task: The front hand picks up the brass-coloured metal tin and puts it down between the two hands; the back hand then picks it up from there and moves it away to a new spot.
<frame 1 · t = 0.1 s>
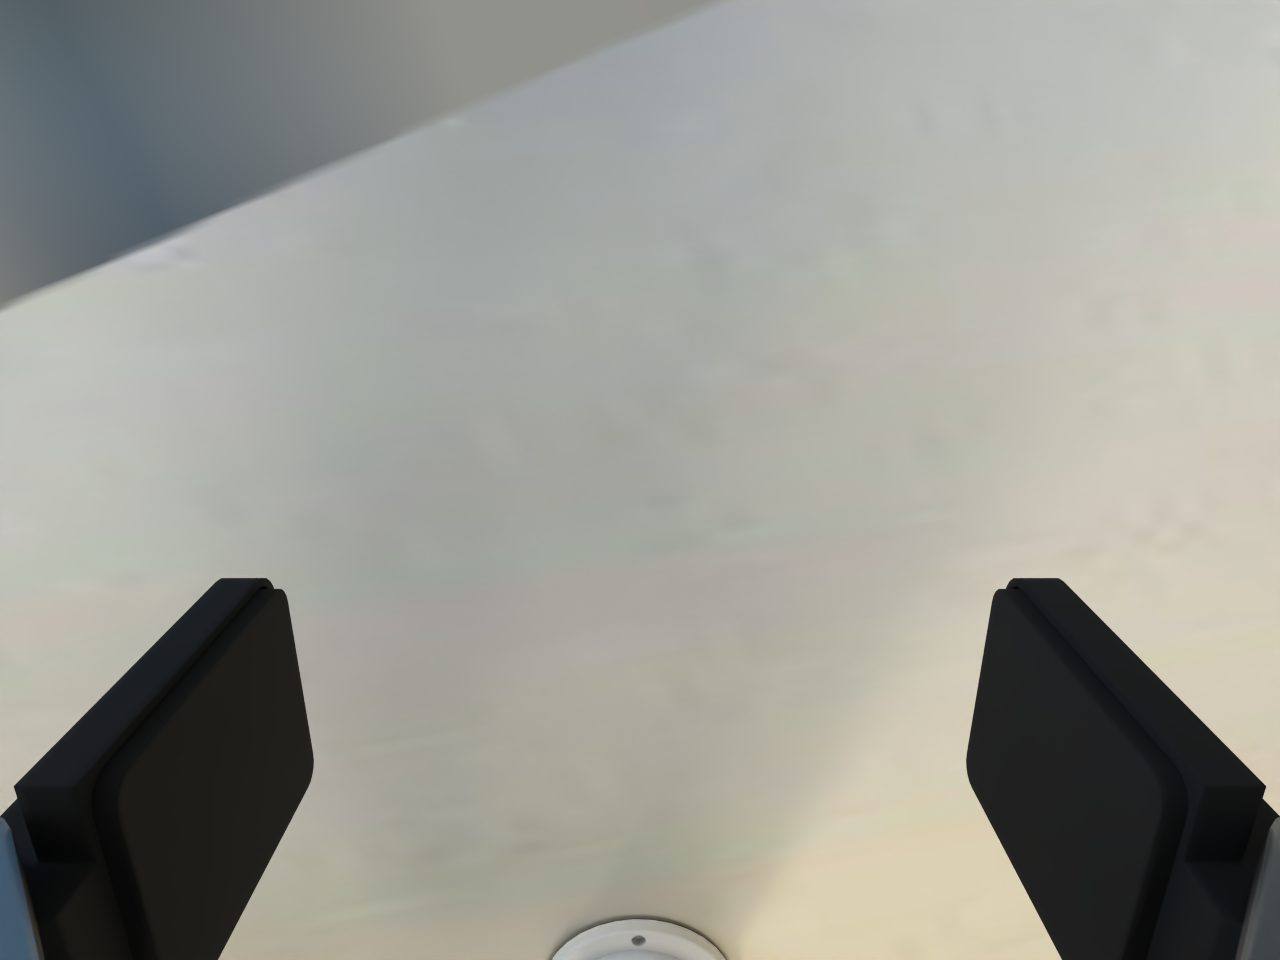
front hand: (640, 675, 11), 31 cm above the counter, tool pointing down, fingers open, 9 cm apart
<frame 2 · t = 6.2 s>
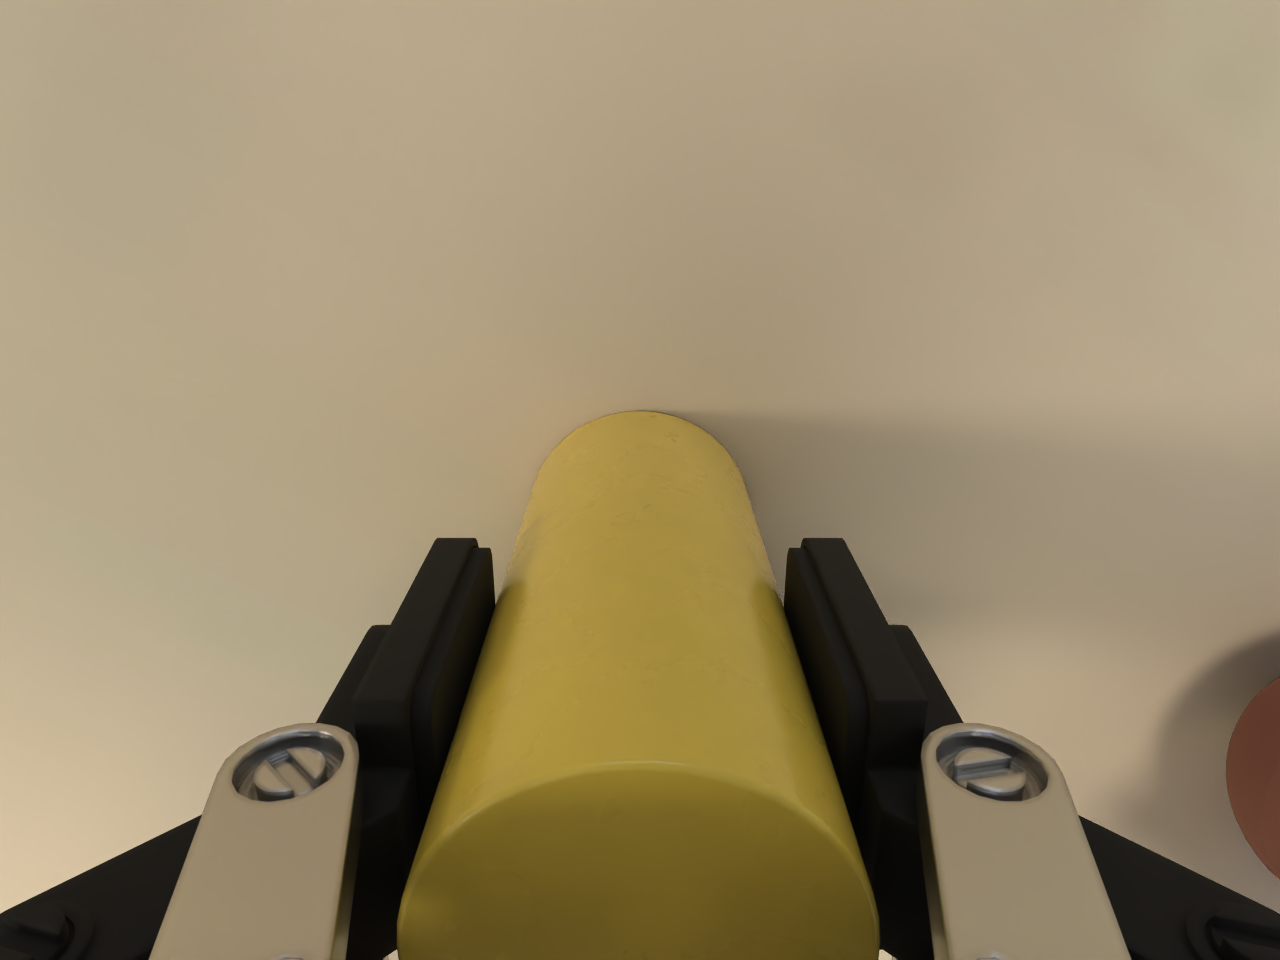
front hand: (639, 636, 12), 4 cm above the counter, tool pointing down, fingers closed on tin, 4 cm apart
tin: (639, 514, 16), on the counter, touching front hand
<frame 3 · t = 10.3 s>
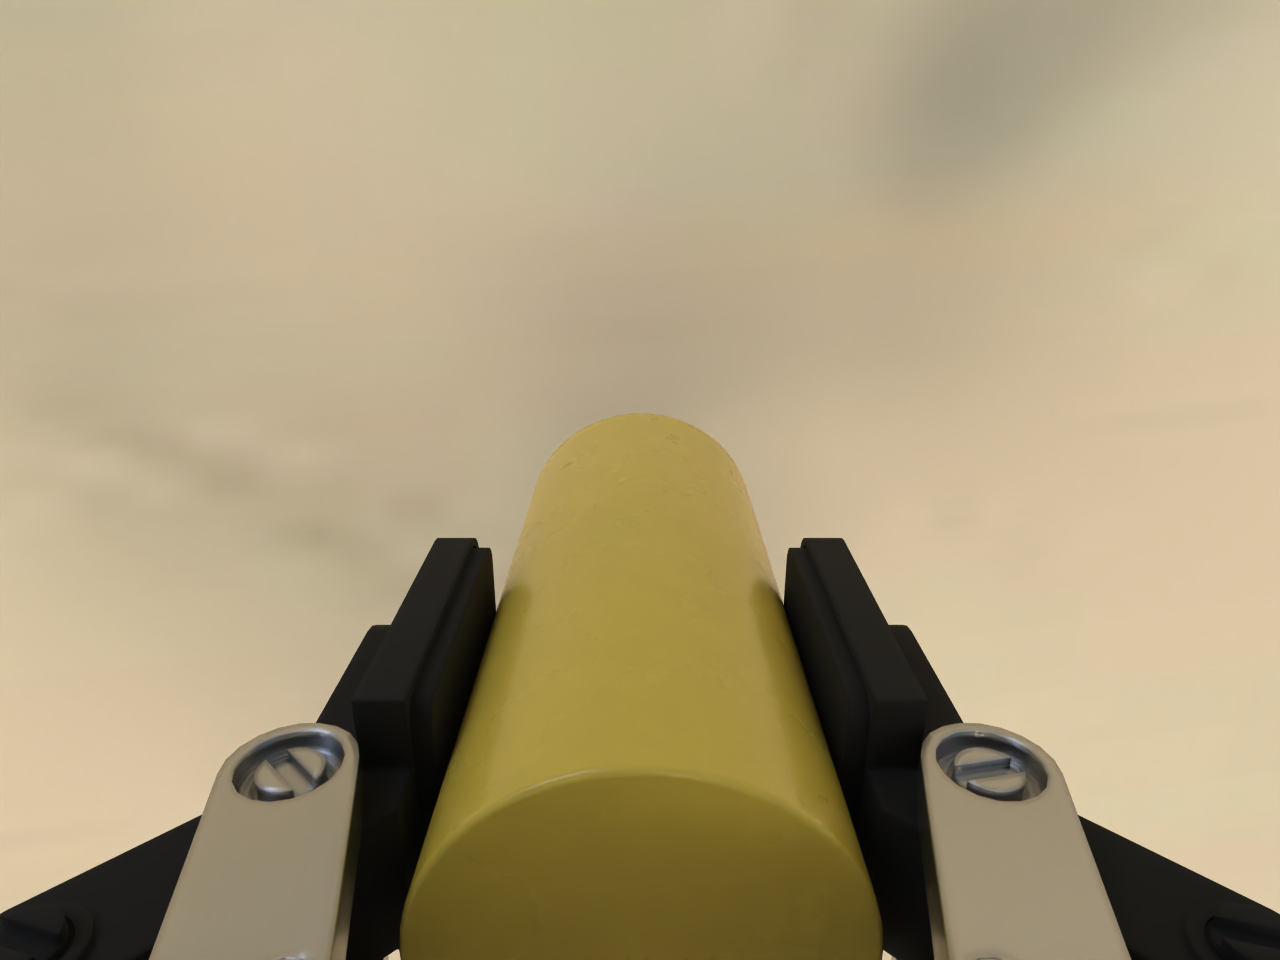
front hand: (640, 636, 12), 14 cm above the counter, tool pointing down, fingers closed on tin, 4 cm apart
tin: (640, 516, 16), point 10 cm above the counter, touching front hand
when the front hand's fingers open (5 cm above the counter, at t = 14.7 s): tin drops 1 cm, on the counter.
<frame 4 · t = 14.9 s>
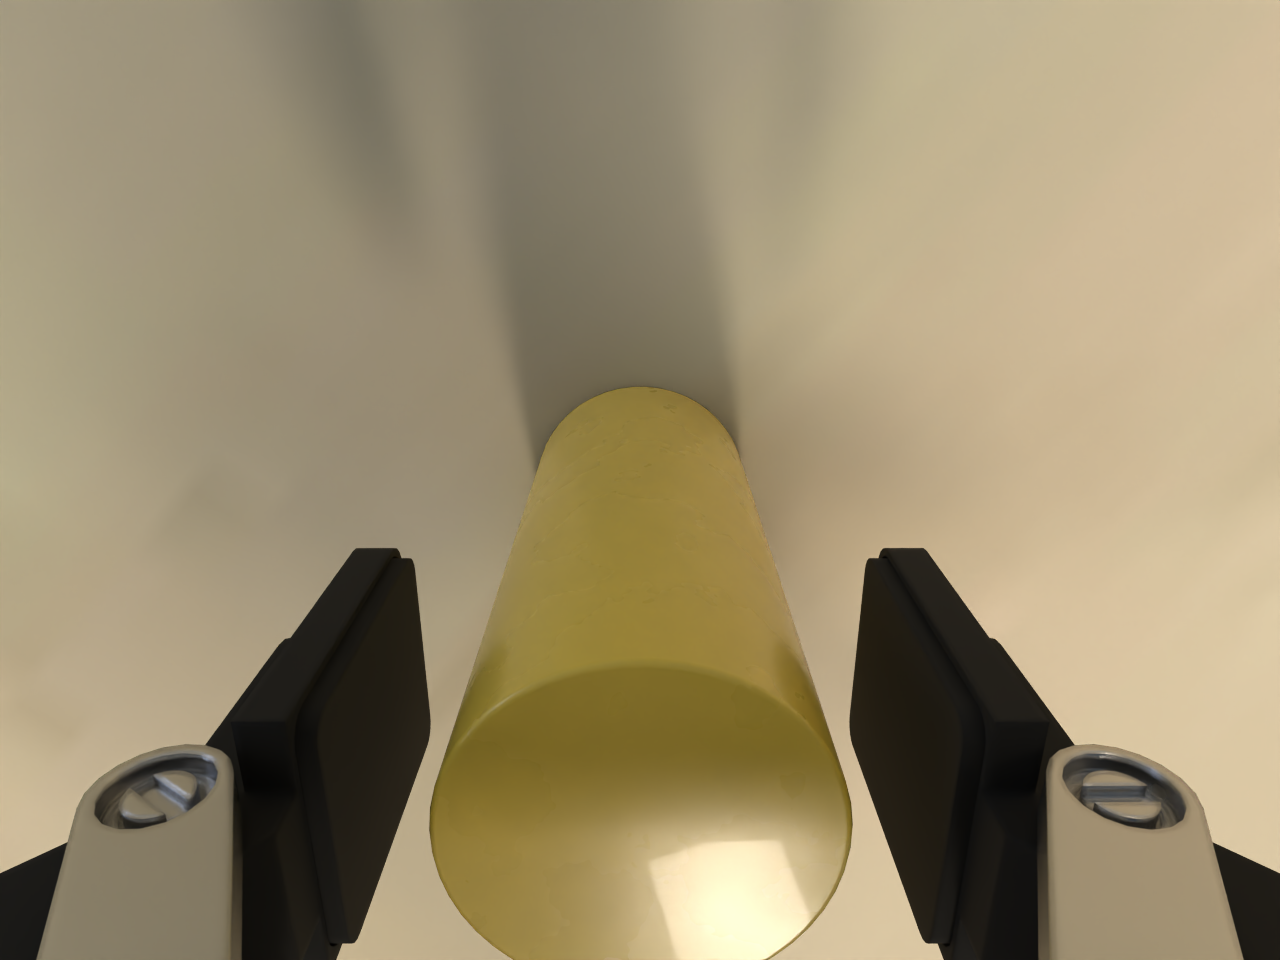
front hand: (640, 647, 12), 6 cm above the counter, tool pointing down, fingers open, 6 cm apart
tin: (640, 485, 17), on the counter
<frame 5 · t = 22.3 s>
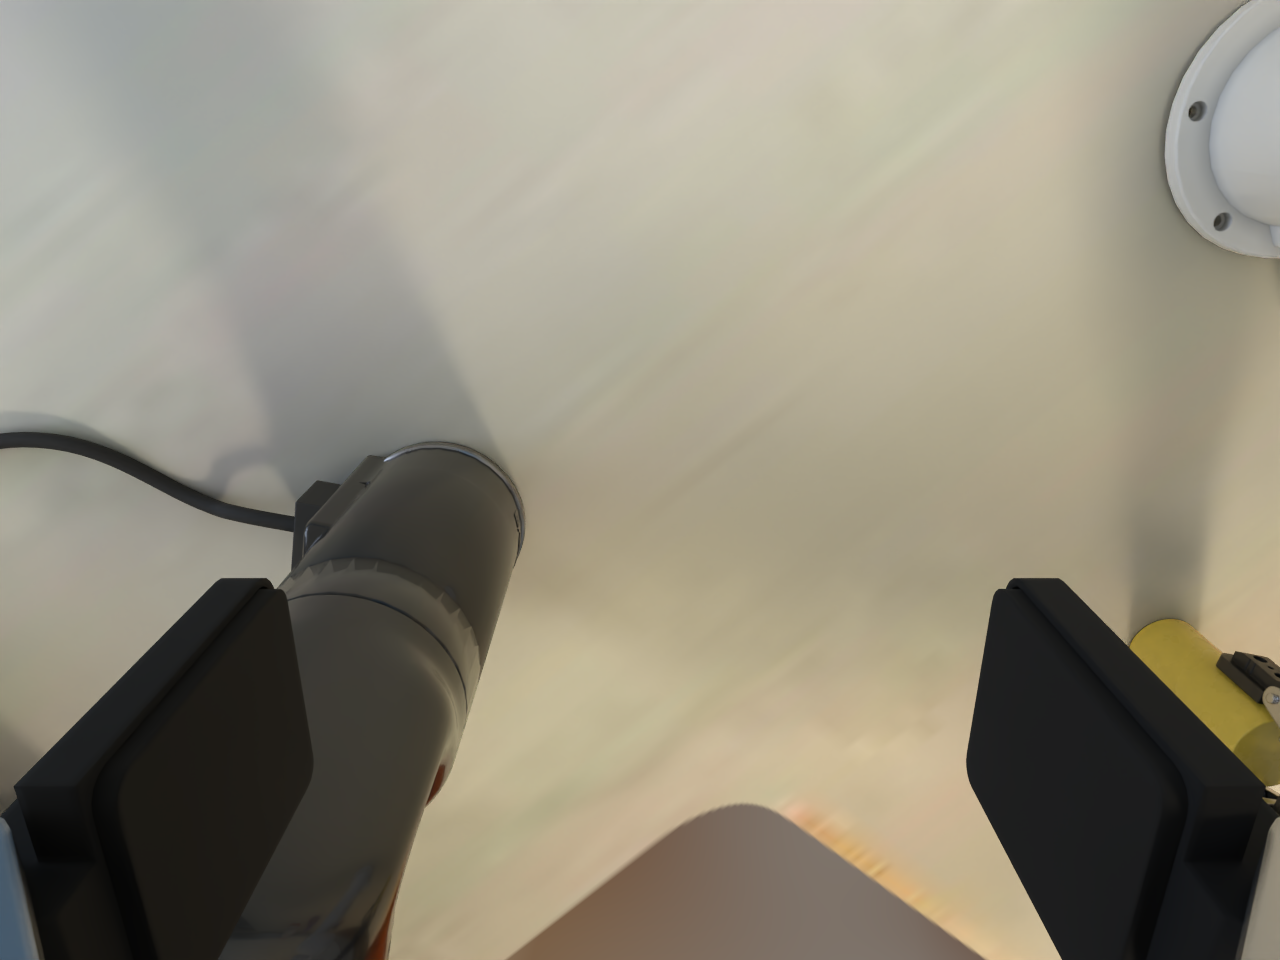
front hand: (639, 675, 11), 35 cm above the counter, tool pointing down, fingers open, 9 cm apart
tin: (1162, 648, 52), on the counter, touching back hand
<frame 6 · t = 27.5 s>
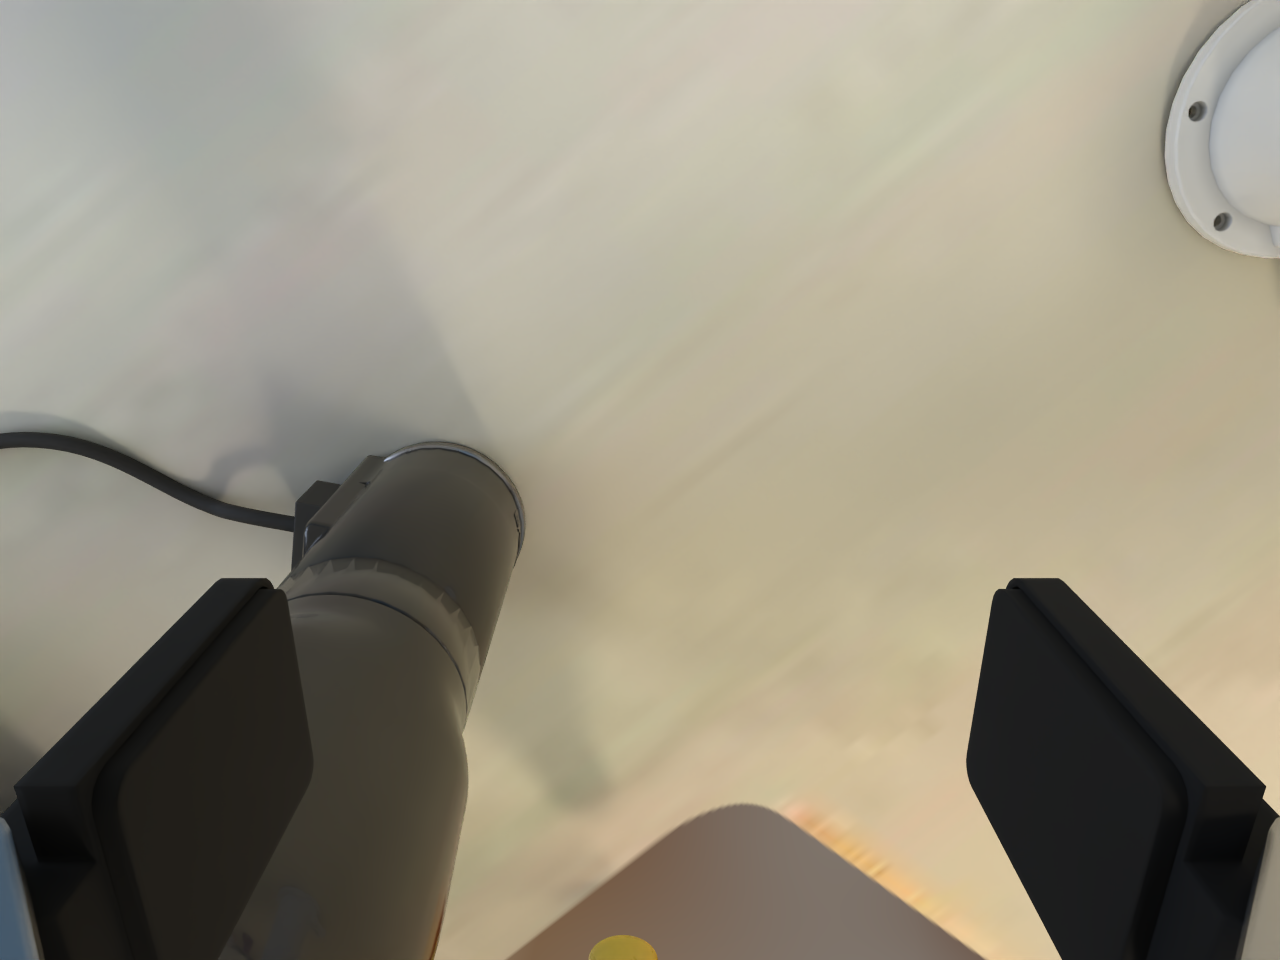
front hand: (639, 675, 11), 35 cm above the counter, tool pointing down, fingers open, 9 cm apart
when the back hand's fingers open (6 cm above the counter, at t = 32.8 s): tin stays where it is, on the counter.
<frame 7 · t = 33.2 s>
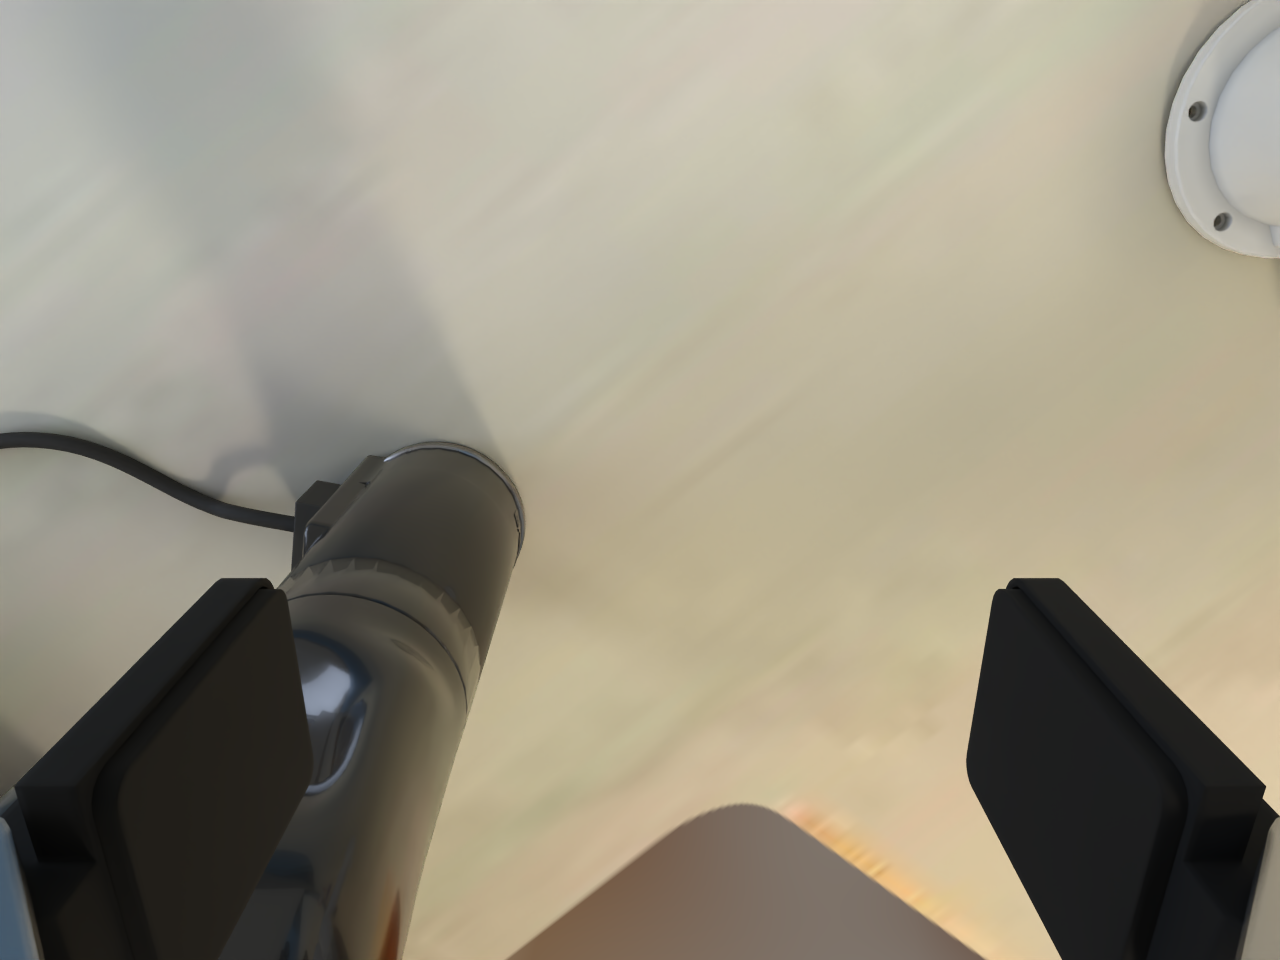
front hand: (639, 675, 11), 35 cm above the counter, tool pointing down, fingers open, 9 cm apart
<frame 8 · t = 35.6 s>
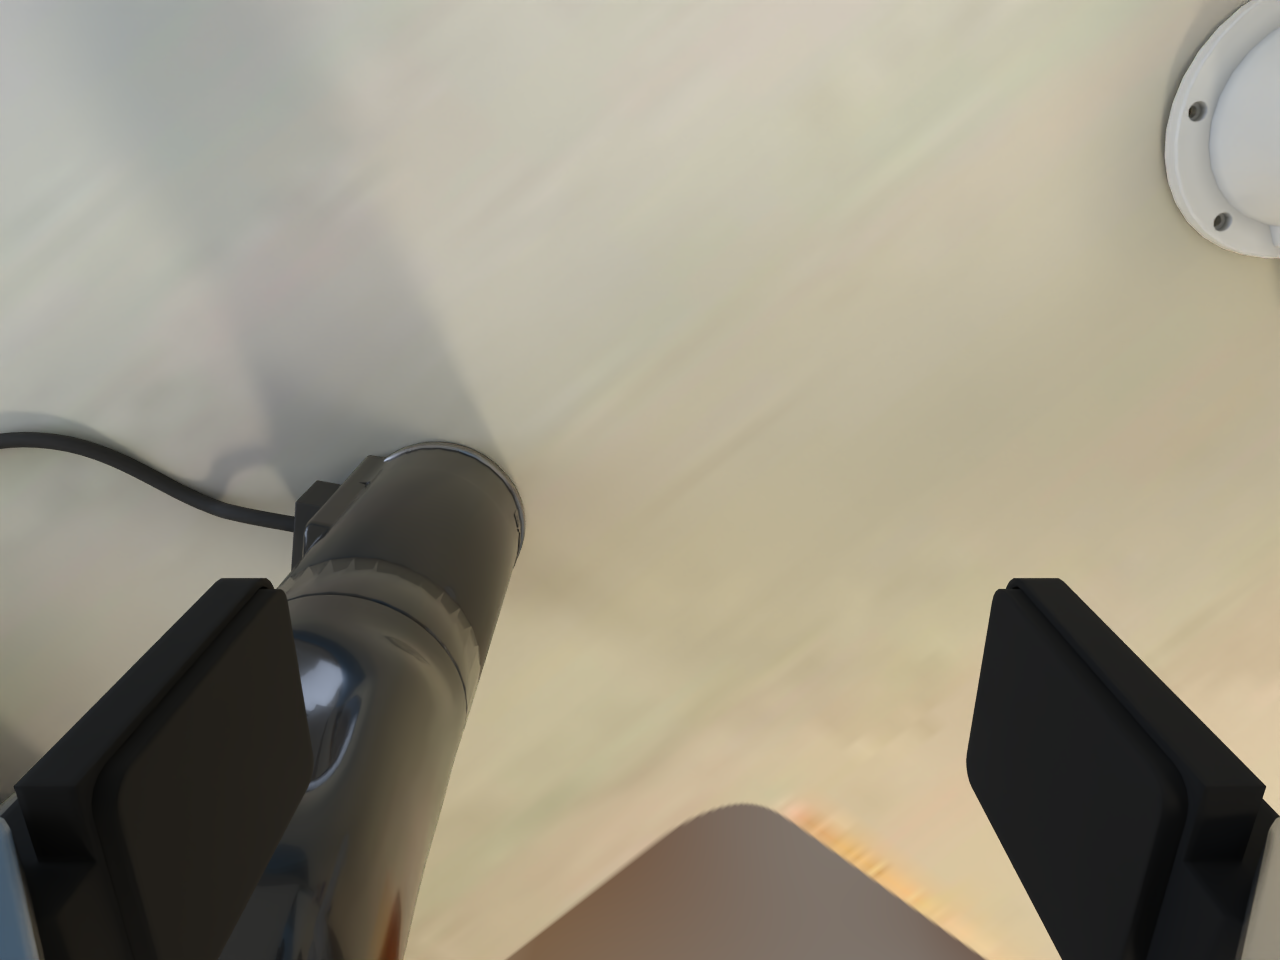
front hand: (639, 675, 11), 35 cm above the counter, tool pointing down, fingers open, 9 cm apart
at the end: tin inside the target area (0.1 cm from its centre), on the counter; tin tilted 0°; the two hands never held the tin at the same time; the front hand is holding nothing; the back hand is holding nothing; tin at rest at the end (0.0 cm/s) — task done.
